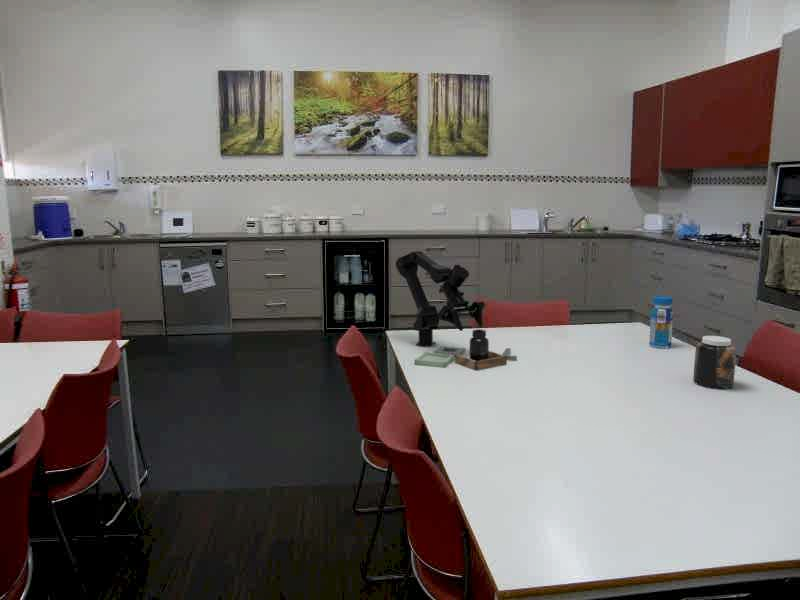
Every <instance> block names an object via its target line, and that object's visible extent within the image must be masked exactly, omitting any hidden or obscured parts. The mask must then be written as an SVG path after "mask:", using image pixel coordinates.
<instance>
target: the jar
mask: <svg viewBox="0 0 800 600" xmlns="http://www.w3.org/2000/svg"><path fill="white" fill-rule="evenodd" d="M701 338H702V339H701V341H699V342H697V343H696V345H695V353H694V366H693V376H692V377H693V378H692V381H694V382H695V383H697V384H699V385H698V386H700V385H702V386H701V387H703V386H704V387H703V388H707V387H710V388H709V389H713V388H729V387H732V386H733V387H734V384H735V372H736V360H737V348H736V346H735V345H733V344H732V339H731V338H729V337H725V336H719V335H703V336H702V337H701ZM694 382H693V383H694ZM695 383H694V384H695ZM697 384H696V385H697ZM733 387H732V388H733Z"/></svg>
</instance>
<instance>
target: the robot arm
mask: <svg viewBox="0 0 800 600" xmlns="http://www.w3.org/2000/svg"><path fill="white" fill-rule="evenodd" d="M395 267H396V270H397V271H398V272H399V273H398V274H399V275H400V276H401V277H403V278H404V279H405V280H406V283H407V285H408V288H409V291H410V293H411V296H412V298H413V301H414V303H415V306H416V309H417V311H416V315H415V316H416V320H415V321H414V323H413V324H412V325H413V326H412V327H413V330H414V331H416V332H418V342H417V343H415V346H419V347H420V346H422V347H432V346H434V345H435V344H436V341H433V338H434V337H433V332H434V330H438V328H439V324H440V321H444V322H448V323H449V324H452V325H453V326H455V327H456V328H457V329H458V330H459V331H461V332H462V331H463V330H464V327H463V325H462V323H461V322H462V321H461V320H460V317H461V314H462V313H468V314H469V315H470V318H474V321H475V323H476V324H477V325H478V327H479V328H480V329H482V328H483V310H484V309H485V308H486V304H485V303H484V301H482V300H479V301H478V300H477V301H473V302H472V303H471V305H469V304H470V301H468V300H466V299H465V297H464V295H465V293H464V291H460V289H459V288H461V287H462V286H463V285H464V283H465V282H466V281H467V279H468V278H469V275H470V272H469V270H467V269H466V268H465V267H463V266H461V265H460V264H455V265H454V266H453V268H451V267H449V266H446V265H442V264H438V263H437V262H436V261H434V260H433V259H432V258H430V257H428V256H427V255H426V254H425V253H424V252H423V251H421V250H417V251H416V250H415V251H411V252H409V253H408V254H406V255H404V256H401V257H400V256H399V257H398V258H397V260H396V261H395ZM419 267H420V268H422V270H424V271H426V272H427V273H428V274H429V276H430V279H431V280H432V281H433V282H434V283H435V284H441V285H440V286H439V289H438V293H439V294H443V295H444V297H445V298H446V300H447V301H446V304H445V305H443V306H442V307H441V309H440V310H439V311H438V309H437V307H436V306H435V305H430V303H429V301H428V298H427V296H426V294H425V291H424V289H423V286H422V283H421V282H420V278H419V275H418V270H419ZM442 283H443V284H442ZM468 305H469V306H468Z"/></svg>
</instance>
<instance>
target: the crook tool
mask: <svg viewBox="0 0 800 600" xmlns="http://www.w3.org/2000/svg"><path fill="white" fill-rule="evenodd" d="M511 353H512V351H511V348H510V347H509V348H505V349H504V351H503V352H502V353H501V355H504V356H507V361H511V362H516V361H518V356H517V355H510V354H511Z"/></svg>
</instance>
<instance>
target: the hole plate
mask: <svg viewBox="0 0 800 600" xmlns="http://www.w3.org/2000/svg"><path fill="white" fill-rule="evenodd" d="M466 349H467V348H466V347H458V346H457V347H455V346H444V345H440V346H439V347H438V348H436V349H435V350H434V351H433V352H432V353H441V354H452V355H457V354H458V355H461V356H463V354H464V353H465V352H466Z"/></svg>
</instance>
